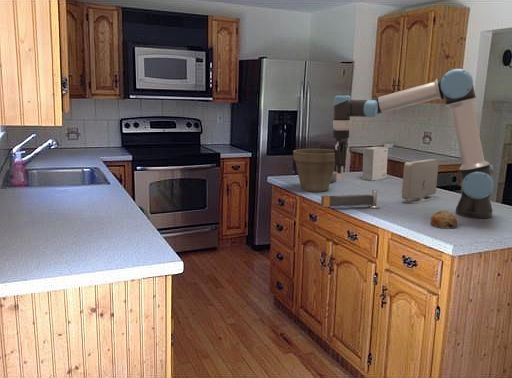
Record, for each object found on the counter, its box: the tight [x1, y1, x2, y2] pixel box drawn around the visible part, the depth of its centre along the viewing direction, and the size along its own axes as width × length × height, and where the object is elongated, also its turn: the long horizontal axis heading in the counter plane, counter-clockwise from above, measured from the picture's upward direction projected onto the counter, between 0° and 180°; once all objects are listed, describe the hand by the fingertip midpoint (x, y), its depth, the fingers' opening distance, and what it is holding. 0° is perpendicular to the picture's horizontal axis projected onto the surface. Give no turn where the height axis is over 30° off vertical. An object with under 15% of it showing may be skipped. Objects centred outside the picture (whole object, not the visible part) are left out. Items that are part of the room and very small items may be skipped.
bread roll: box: [430, 210, 458, 230], centre depth 192 cm, size 10×10×8 cm
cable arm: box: [320, 194, 372, 208], centre depth 218 cm, size 24×3×5 cm, turn 103°
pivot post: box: [366, 189, 381, 210], centre depth 221 cm, size 6×6×8 cm
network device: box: [401, 158, 440, 204], centre depth 238 cm, size 26×9×20 cm, turn 129°
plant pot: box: [292, 148, 336, 193], centre depth 259 cm, size 25×25×22 cm
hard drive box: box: [361, 146, 389, 182], centre depth 295 cm, size 16×8×20 cm, turn 130°
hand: (339, 179), depth 221 cm, fingers closed
